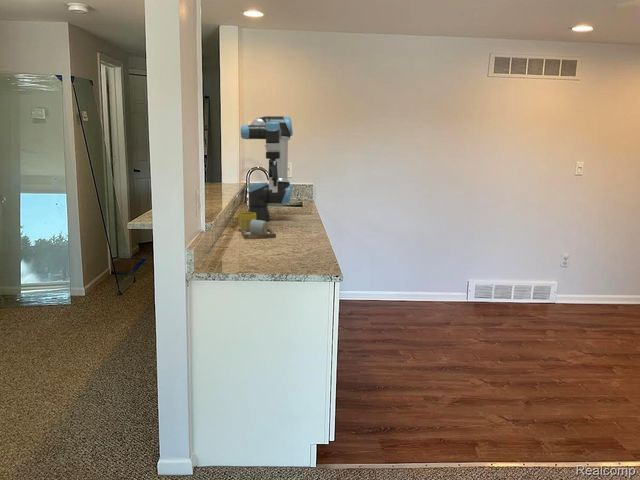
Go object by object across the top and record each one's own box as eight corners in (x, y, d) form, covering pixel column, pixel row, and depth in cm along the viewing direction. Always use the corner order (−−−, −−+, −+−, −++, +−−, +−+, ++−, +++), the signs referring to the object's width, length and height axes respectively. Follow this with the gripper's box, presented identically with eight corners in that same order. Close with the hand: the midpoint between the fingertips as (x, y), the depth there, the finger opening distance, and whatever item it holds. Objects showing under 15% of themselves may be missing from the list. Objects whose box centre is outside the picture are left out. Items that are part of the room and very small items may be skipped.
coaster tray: (241, 233, 280) (241, 229, 280) (271, 232, 284) (271, 228, 284) (244, 239, 265) (244, 234, 264) (275, 238, 269) (275, 233, 268)
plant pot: (258, 229, 294) (258, 212, 292) (254, 232, 284) (254, 214, 282) (240, 228, 295) (240, 211, 293) (235, 231, 285) (235, 214, 283)
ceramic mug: (263, 235, 269) (263, 221, 268) (249, 234, 271) (249, 220, 270) (270, 232, 279) (270, 218, 278) (256, 231, 281) (256, 217, 280)
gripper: (263, 150, 289) (263, 188, 294) (268, 152, 265) (269, 193, 270) (276, 150, 291) (276, 187, 295) (283, 152, 267) (283, 193, 272)
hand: (273, 190), depth 283 cm, fingers open, 13 cm apart
